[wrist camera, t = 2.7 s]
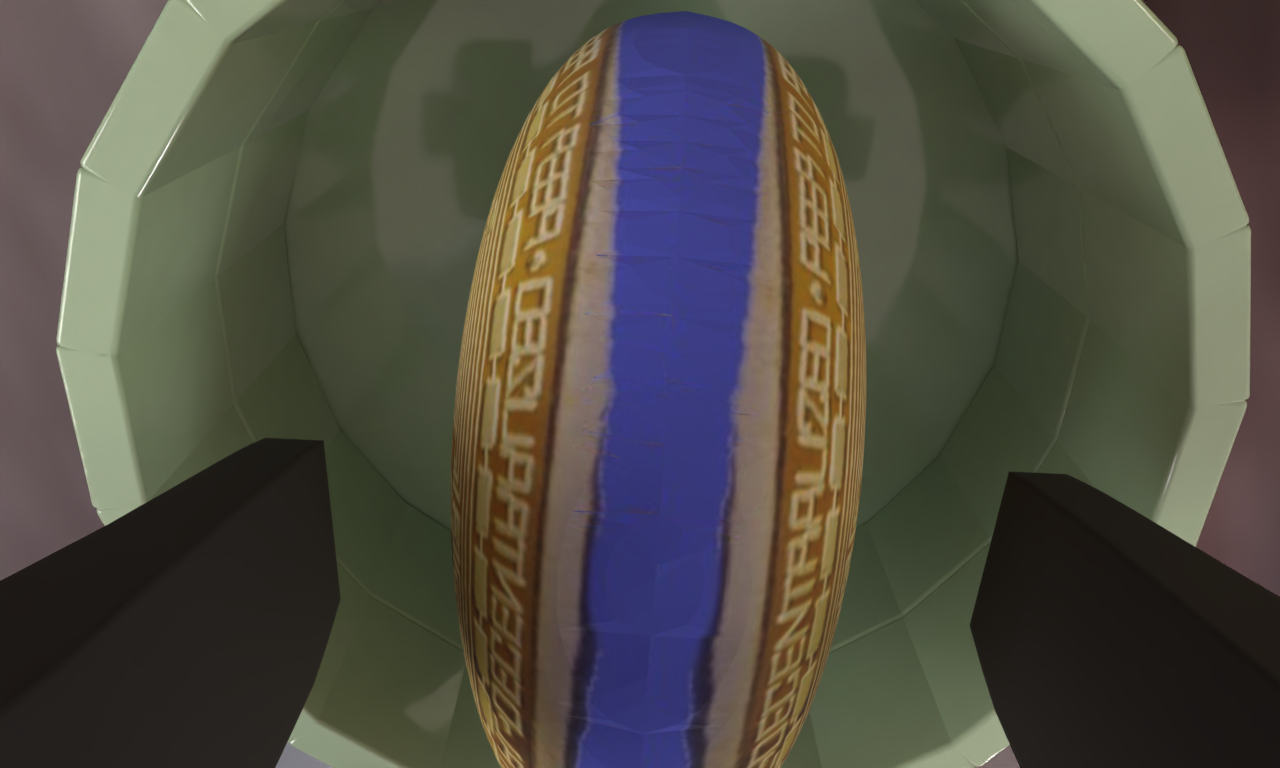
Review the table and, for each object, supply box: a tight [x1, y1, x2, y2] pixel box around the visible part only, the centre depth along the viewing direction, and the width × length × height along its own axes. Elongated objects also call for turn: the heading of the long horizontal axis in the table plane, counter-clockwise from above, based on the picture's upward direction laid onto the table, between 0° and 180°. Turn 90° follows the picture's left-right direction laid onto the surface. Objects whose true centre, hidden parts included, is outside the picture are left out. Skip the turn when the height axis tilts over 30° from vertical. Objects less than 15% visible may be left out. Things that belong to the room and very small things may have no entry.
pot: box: [56, 0, 1251, 768], centre depth 14 cm, size 14×14×6 cm
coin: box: [451, 11, 866, 768], centre depth 12 cm, size 10×6×10 cm, turn 15°
